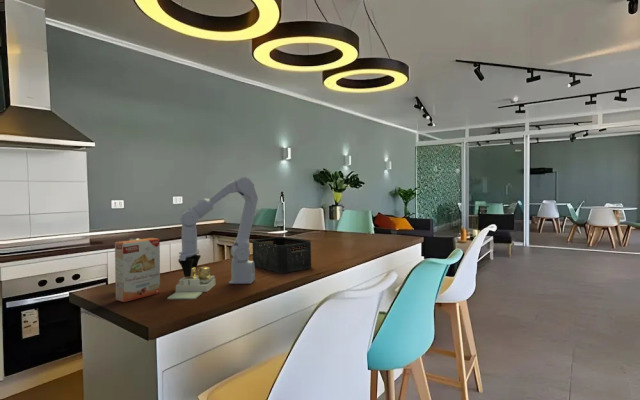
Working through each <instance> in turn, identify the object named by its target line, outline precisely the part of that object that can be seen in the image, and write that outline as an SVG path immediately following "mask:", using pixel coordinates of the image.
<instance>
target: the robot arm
mask: <svg viewBox="0 0 640 400" xmlns="http://www.w3.org/2000/svg"><path fill="white" fill-rule="evenodd" d="M235 193H238V194H239V195H241V197H242V198H243V200H244V204H243V205H244V206H243V209H242V213H241V218H240V223H239V227H238V231H237V234H236V235H237V236H236V238H235V240H234V243H233V245H232V246H231V247H230V255H231V256H232V258H231V262H230V263H231V265H230V266H231V279H230V281H229V282H228V284H230V285H231V284H232V285H233V284H235V285H236V284H239V285H240V284H249V285H250V284H252V283H253V282H254V281H255V280H256V272H255V271H256V270H255V269H256V268H255V267H256V266H255V264H254V261H253V260H250V259H249V257H250V255H251V254H250V253H251V252H250V237H251V236H250V235H251V232H252V227H253V222H254V219H255V215H256V214H255V213H256V209H257V204H258V200H259V198H258V194H257V191H256V188H255V184H254V182H253V181H252V180H251V179H250V177H247V176H242V177H237V178H235V179H234V180H231V181H230V182H228V183H227V184H225V185H223V187H221V188H220V189H219V190H218V191H217V192H215V193H214V194H212V195H211V196H210V197H209V198H205V197H204V198H202V199H201V198H200V199H198V200H197V202H196V203H195V204H194V205H193V206H190V207H188V208H187V210H186V211H184V212H182V214H181V216H180V222H181V251H179V252H178V254H179V258H178V261H177V262H178V264H179V265H180V267H181V268H182V272H183V277H184V276H185V277H190V276H191V270H192V267H196V270H198V263H199V262H200V259H201V257H202V256H201V255H200V249H199V248H198V231H197V230H198V229H197V223H198V221H199V220H201V219H202V218H203V217H205V215H207V214H208V213H210V212H211V211H212V210H213V209H214V205H215V204H217V203H218V202H219V201H221V200H222V199H223V198H225V197H227V196H228V195H230V194H235Z"/></svg>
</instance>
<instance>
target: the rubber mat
mask: <svg viewBox="0 0 640 400" xmlns="http://www.w3.org/2000/svg"><path fill="white" fill-rule="evenodd" d="M200 295H203V292H176V291H175V292H173V294H171V295H169V296H168V297H167V298H166V299H167V300H196V299H197V298H199V297H200Z"/></svg>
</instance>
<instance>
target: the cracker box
mask: <svg viewBox="0 0 640 400" xmlns="http://www.w3.org/2000/svg"><path fill="white" fill-rule="evenodd" d="M160 241H161V240H160V238H157V237H156V238H155V237H147V238H139V239H138V240H130V241H129V240H122V241H115V242H114V255H115V256H114V267H115V268H114V270H115V271H114V274H115V279H114V281H115V287H114V288H115V301H118V302H122V303H127V302H131V301H135V300H137V299H141V298H146V297H149V296H153V295H157V294H160V293H161V267H160V266H161V260H160V259H161V255H160V254H161V250H160V249H161V247H160V245H161V244H160V243H161V242H160Z"/></svg>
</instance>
